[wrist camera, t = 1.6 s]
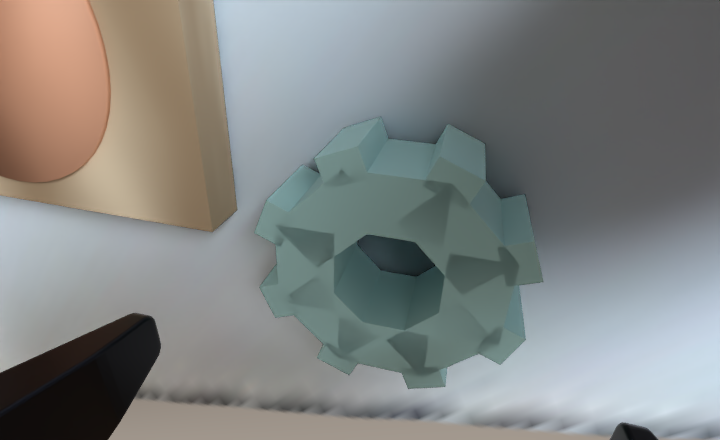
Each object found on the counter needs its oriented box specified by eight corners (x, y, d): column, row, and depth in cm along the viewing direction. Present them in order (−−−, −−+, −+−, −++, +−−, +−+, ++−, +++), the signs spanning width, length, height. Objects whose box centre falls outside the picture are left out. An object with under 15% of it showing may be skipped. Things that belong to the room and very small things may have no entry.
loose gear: (557, 135, 11) (576, 172, 8) (500, 346, 14) (503, 410, 12) (286, 106, 12) (244, 132, 10) (295, 305, 16) (265, 356, 13)
